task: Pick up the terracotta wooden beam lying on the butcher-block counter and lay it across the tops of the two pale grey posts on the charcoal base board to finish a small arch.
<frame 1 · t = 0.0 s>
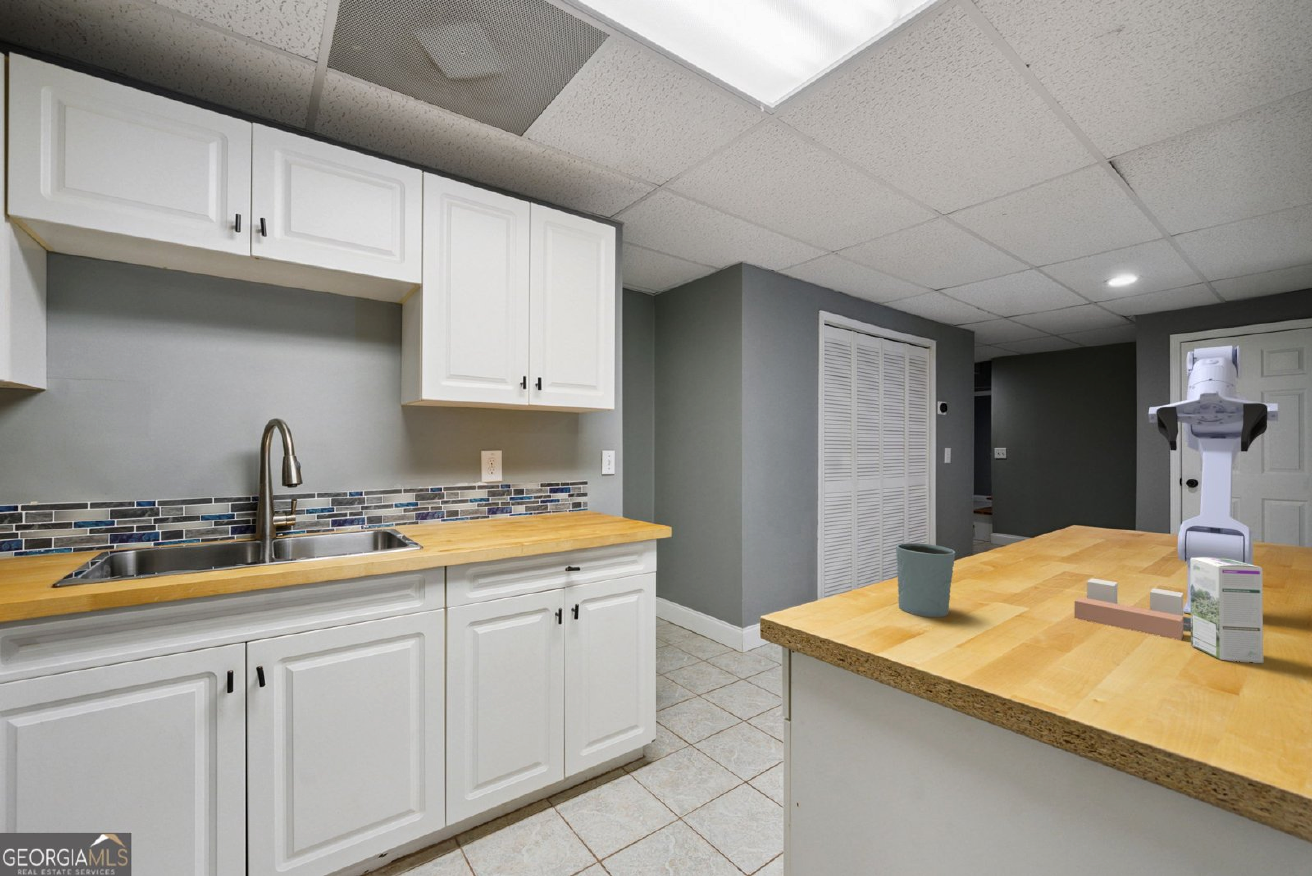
hand: (1207, 446, 82), 32 cm above the counter, tool tilted 50°, fingers open, 7 cm apart
grey green cup: (924, 610, 101), on the counter
beam: (1126, 627, 93), on the counter
arch base: (1133, 616, 98), on the counter
syrup box: (1225, 656, 81), on the counter
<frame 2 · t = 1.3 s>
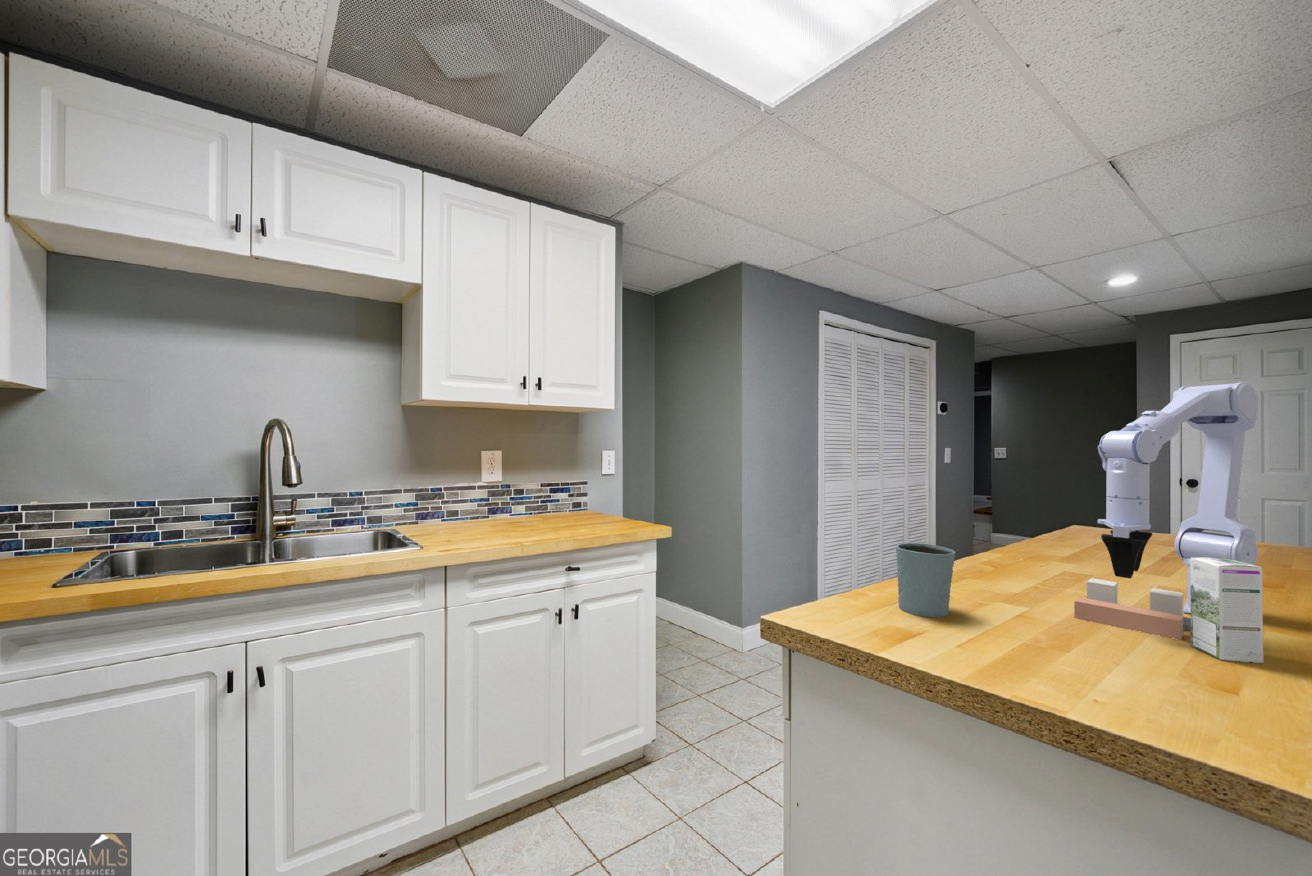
hand: (1126, 573, 93), 9 cm above the counter, tool pointing down, fingers open, 7 cm apart
nothing on the counter moved.
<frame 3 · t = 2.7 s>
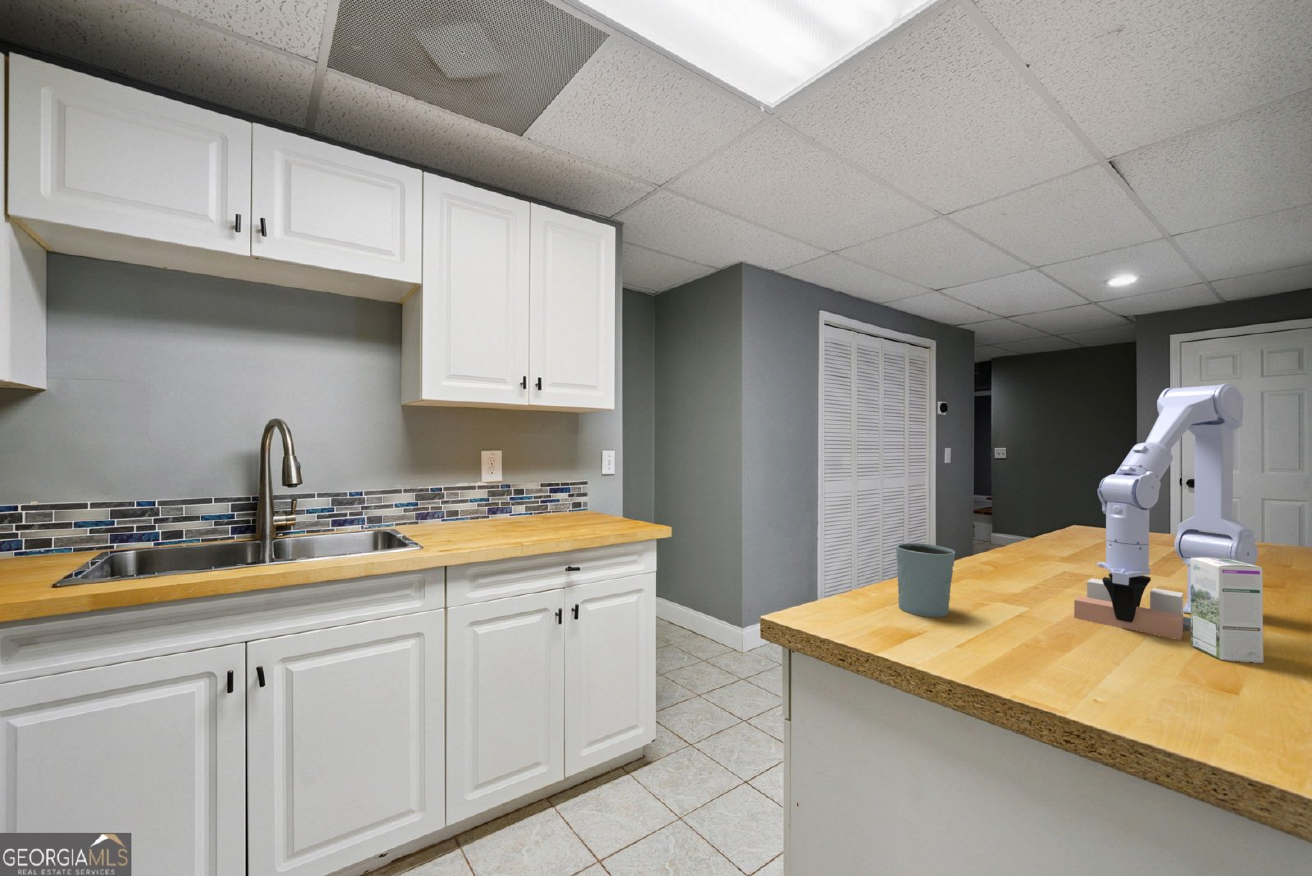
hand: (1126, 618, 93), 1 cm above the counter, tool pointing down, fingers closed on beam, 4 cm apart
beam: (1126, 626, 93), on the counter, touching gripper
everything else where it was.
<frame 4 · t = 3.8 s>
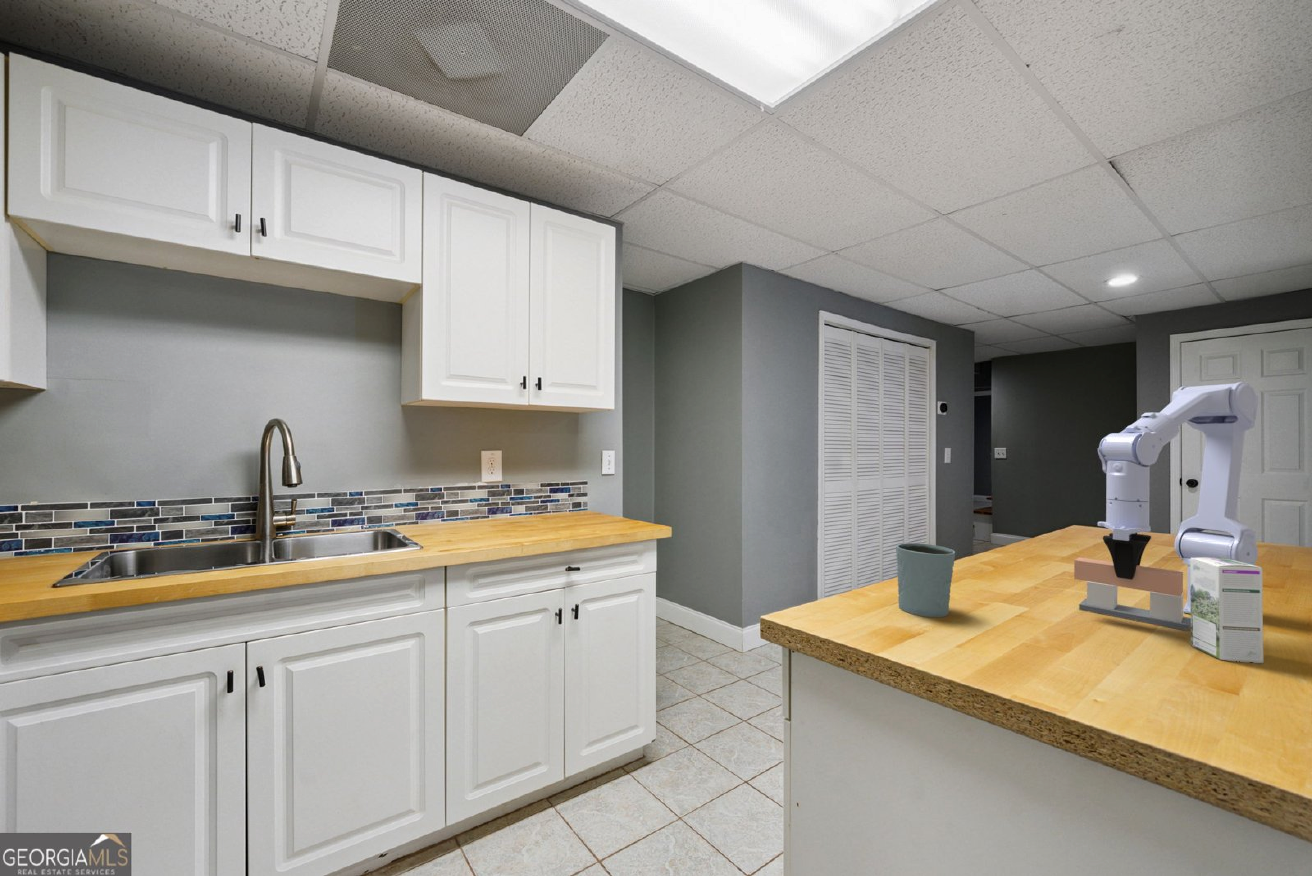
hand: (1126, 576, 93), 9 cm above the counter, tool pointing down, fingers closed on beam, 4 cm apart
beam: (1126, 585, 93), point 7 cm above the counter, touching gripper
everything else where it was.
when the fingers open (8 cm above the counter, at t = 5.1 s): beam stays where it is, resting on arch base.
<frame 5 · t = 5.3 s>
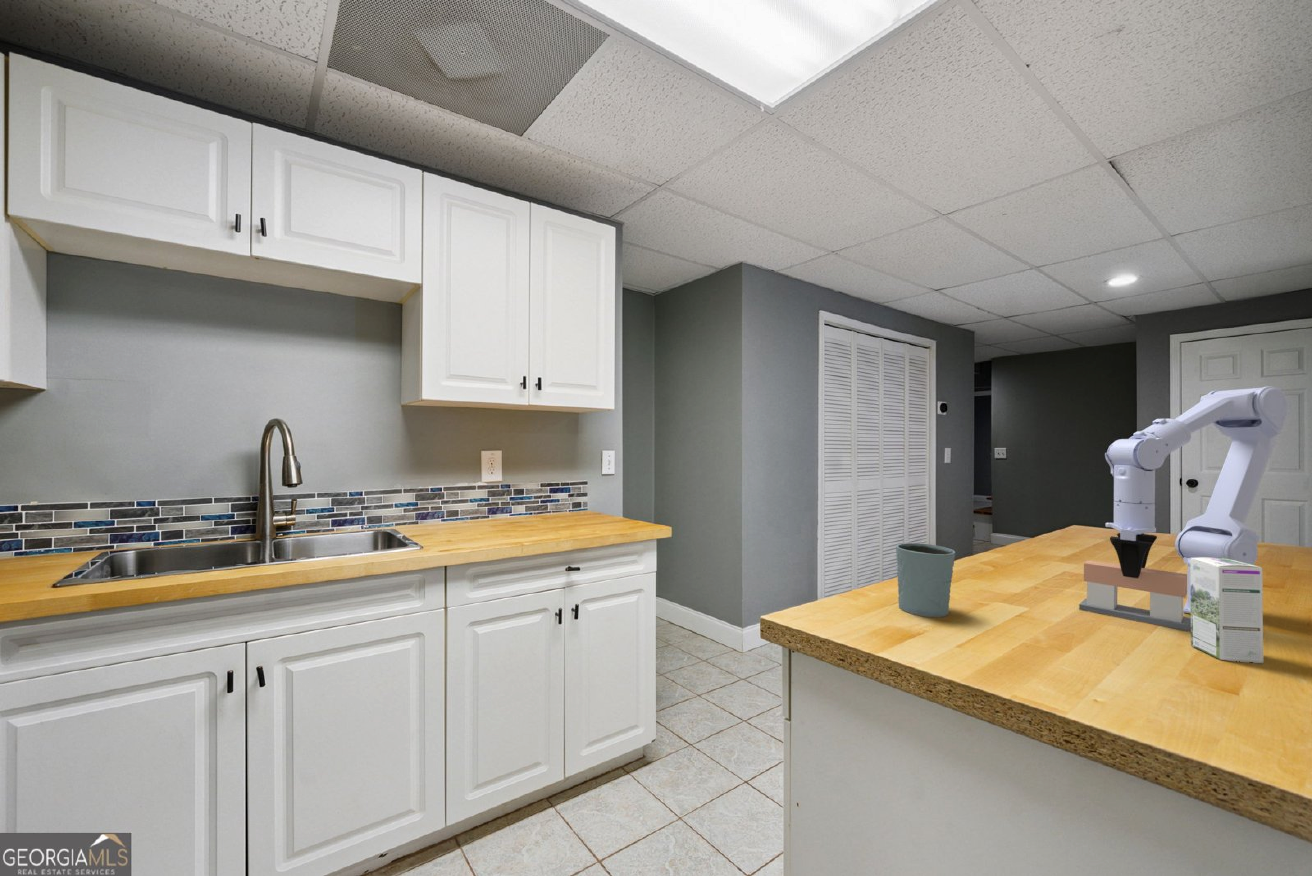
hand: (1133, 574, 98), 8 cm above the counter, tool pointing down, fingers open, 6 cm apart
beam: (1133, 587, 98), point 5 cm above the counter, touching arch base
everything else where it was.
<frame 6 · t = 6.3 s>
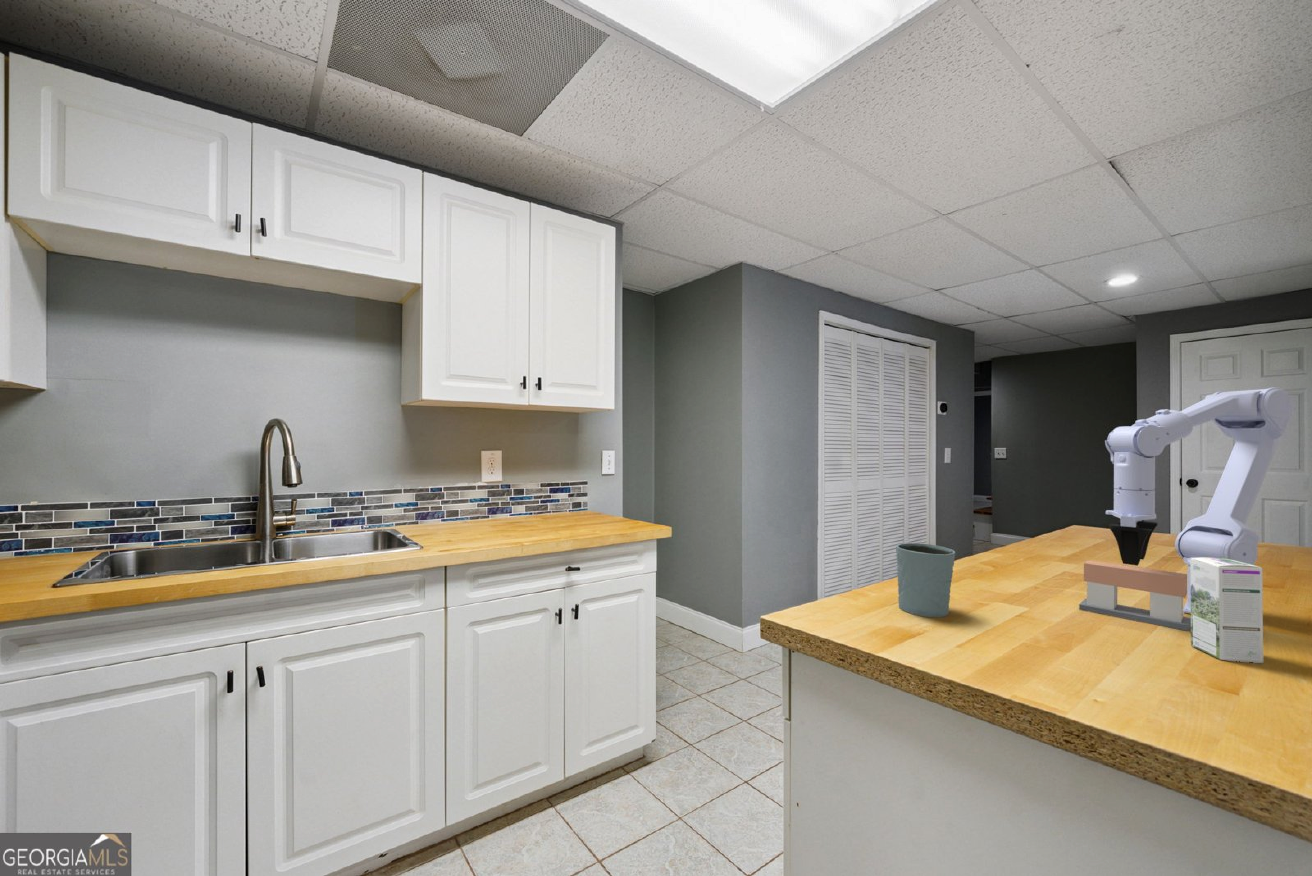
hand: (1133, 561, 98), 10 cm above the counter, tool pointing down, fingers open, 7 cm apart
nothing on the counter moved.
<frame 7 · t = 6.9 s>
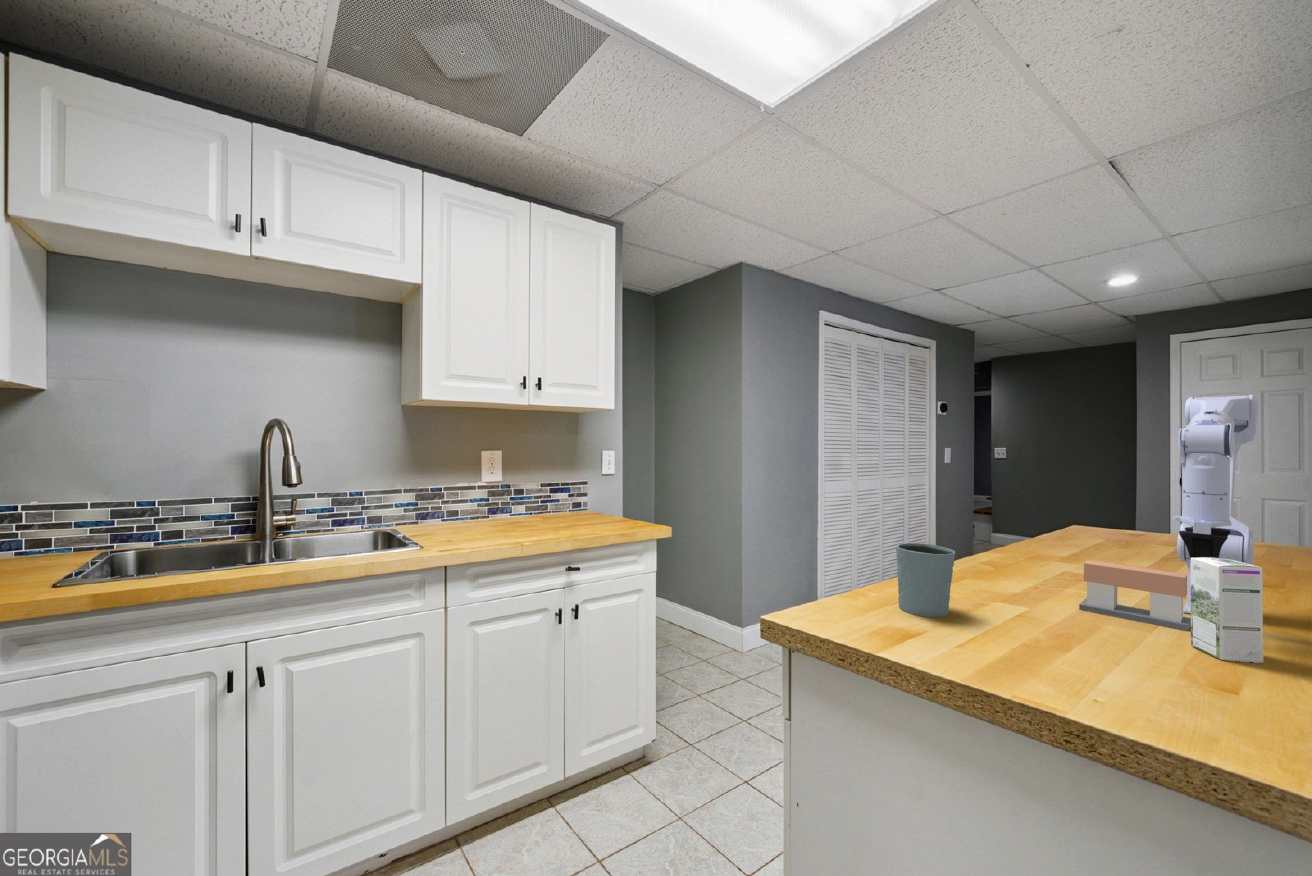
hand: (1204, 571, 90), 10 cm above the counter, tool pointing down, fingers open, 7 cm apart
nothing on the counter moved.
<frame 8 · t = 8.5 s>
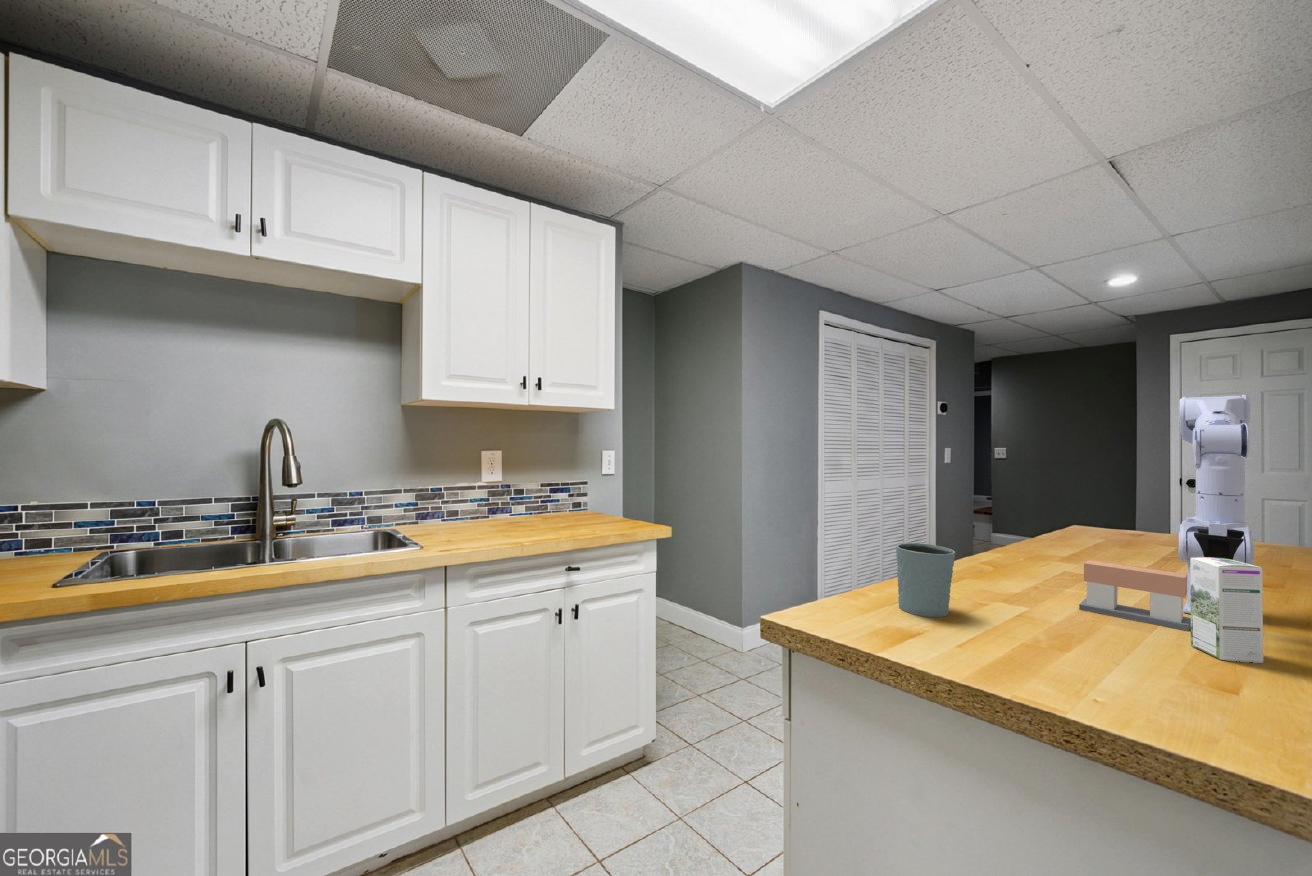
hand: (1219, 573, 89), 10 cm above the counter, tool pointing down, fingers open, 7 cm apart
nothing on the counter moved.
at the end: beam 0.0 cm off-centre on the arch base, point 5.5 cm above the arch base's base; beam tilted 0°; beam touching arch base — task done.
